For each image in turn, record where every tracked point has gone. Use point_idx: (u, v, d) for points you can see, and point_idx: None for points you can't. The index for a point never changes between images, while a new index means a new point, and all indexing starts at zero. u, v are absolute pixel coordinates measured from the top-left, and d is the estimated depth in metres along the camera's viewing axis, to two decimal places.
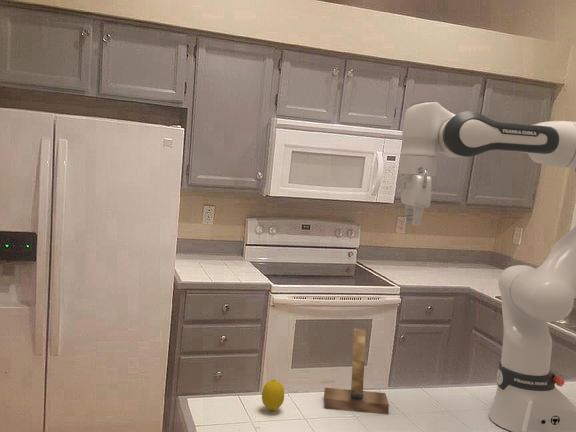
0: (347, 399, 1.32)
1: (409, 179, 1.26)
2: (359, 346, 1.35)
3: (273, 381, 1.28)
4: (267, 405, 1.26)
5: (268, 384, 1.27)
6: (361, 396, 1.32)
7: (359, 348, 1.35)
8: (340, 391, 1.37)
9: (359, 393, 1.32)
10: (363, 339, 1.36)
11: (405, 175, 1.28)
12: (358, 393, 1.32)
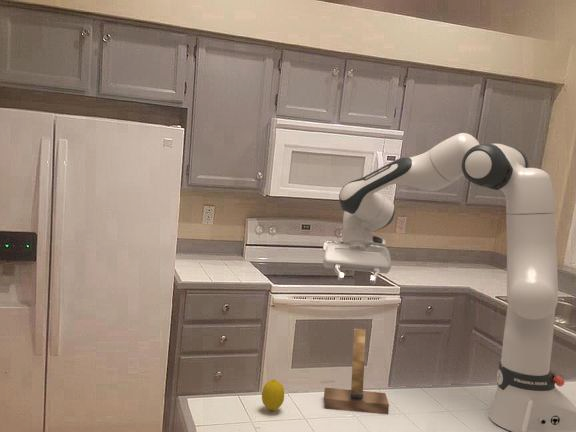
0: (347, 399, 1.32)
1: None
2: (359, 346, 1.35)
3: (273, 381, 1.28)
4: (267, 405, 1.26)
5: (268, 384, 1.27)
6: (361, 396, 1.32)
7: (359, 348, 1.35)
8: (340, 391, 1.37)
9: (359, 393, 1.32)
10: (363, 339, 1.36)
11: None
12: (358, 393, 1.32)
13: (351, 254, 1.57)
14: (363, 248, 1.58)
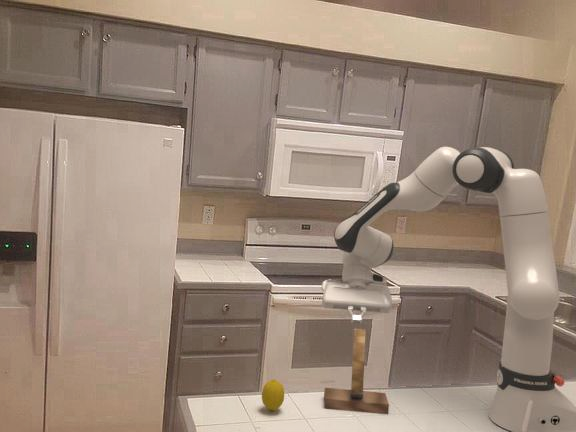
0: (347, 399, 1.32)
1: None
2: (359, 346, 1.35)
3: (273, 381, 1.28)
4: (267, 405, 1.26)
5: (268, 384, 1.27)
6: (361, 396, 1.32)
7: (359, 348, 1.35)
8: (340, 391, 1.37)
9: (359, 393, 1.32)
10: (363, 339, 1.36)
11: None
12: (358, 393, 1.32)
13: (350, 294, 1.53)
14: (363, 287, 1.54)
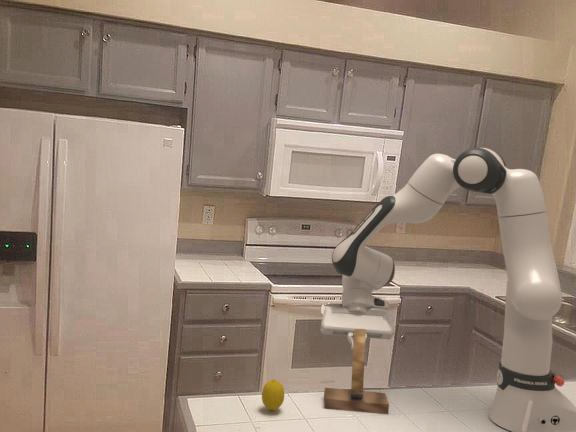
0: (347, 399, 1.32)
1: None
2: (359, 346, 1.35)
3: (273, 381, 1.28)
4: (267, 405, 1.26)
5: (268, 384, 1.27)
6: (361, 396, 1.32)
7: (359, 348, 1.35)
8: (340, 391, 1.37)
9: (359, 393, 1.32)
10: (363, 339, 1.36)
11: None
12: (358, 393, 1.32)
13: (350, 319, 1.45)
14: (364, 312, 1.46)
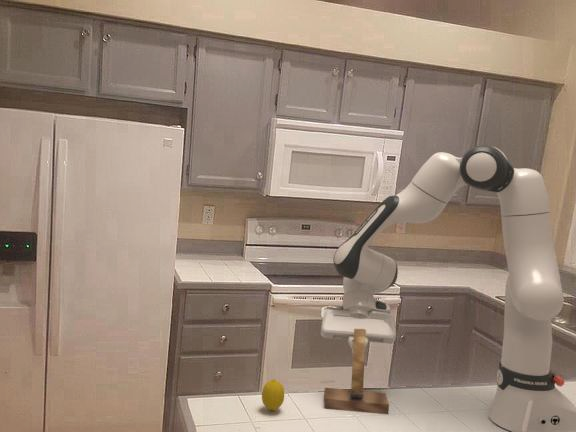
0: (347, 399, 1.32)
1: None
2: (359, 346, 1.34)
3: (273, 381, 1.28)
4: (267, 405, 1.26)
5: (268, 384, 1.27)
6: (361, 397, 1.32)
7: (359, 348, 1.34)
8: (340, 391, 1.37)
9: (359, 393, 1.32)
10: (363, 339, 1.35)
11: None
12: (358, 393, 1.32)
13: (351, 323, 1.42)
14: (365, 315, 1.43)
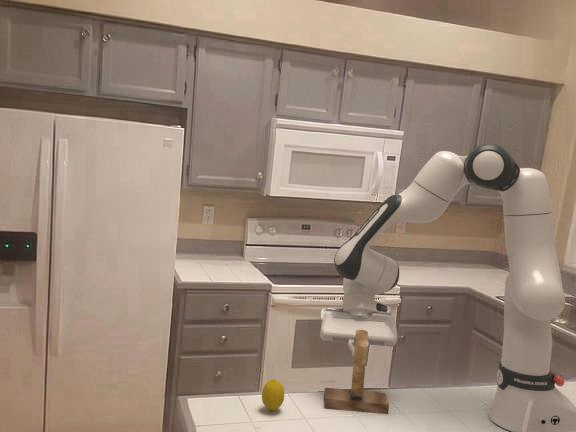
0: (347, 399, 1.32)
1: None
2: (361, 350, 1.31)
3: (273, 381, 1.28)
4: (267, 405, 1.26)
5: (268, 384, 1.27)
6: (361, 397, 1.33)
7: (360, 352, 1.31)
8: (340, 391, 1.37)
9: (359, 395, 1.32)
10: (365, 343, 1.31)
11: None
12: (358, 395, 1.31)
13: (351, 325, 1.39)
14: (365, 317, 1.40)
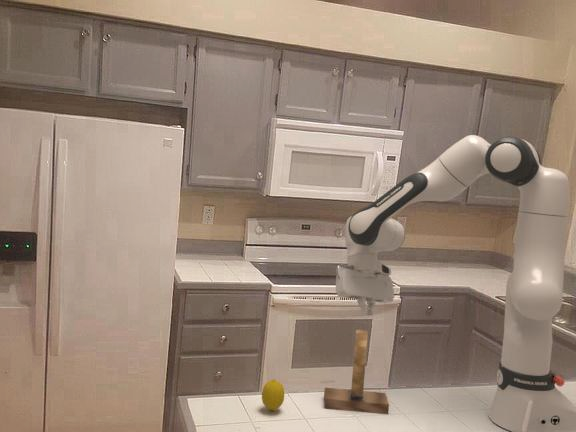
0: (347, 399, 1.32)
1: None
2: (361, 350, 1.31)
3: (273, 381, 1.28)
4: (267, 405, 1.26)
5: (268, 384, 1.27)
6: (361, 397, 1.33)
7: (360, 352, 1.31)
8: (340, 391, 1.37)
9: (359, 395, 1.32)
10: (365, 343, 1.31)
11: None
12: (358, 395, 1.31)
13: (364, 285, 1.48)
14: (373, 278, 1.51)
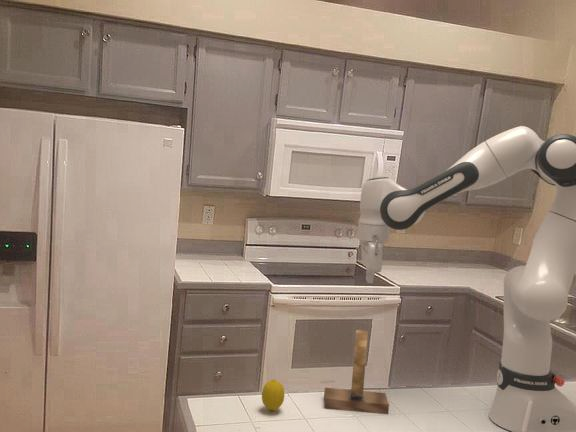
0: (347, 399, 1.32)
1: (365, 244, 1.46)
2: (361, 350, 1.31)
3: (273, 381, 1.28)
4: (267, 405, 1.26)
5: (268, 384, 1.27)
6: (361, 397, 1.33)
7: (360, 352, 1.31)
8: (340, 391, 1.37)
9: (359, 395, 1.32)
10: (365, 343, 1.31)
11: (362, 240, 1.47)
12: (358, 395, 1.31)
13: None
14: None
